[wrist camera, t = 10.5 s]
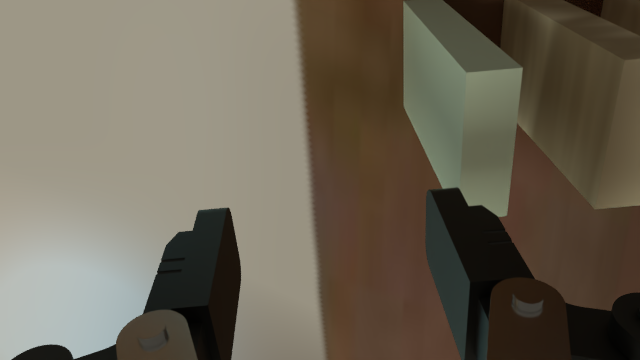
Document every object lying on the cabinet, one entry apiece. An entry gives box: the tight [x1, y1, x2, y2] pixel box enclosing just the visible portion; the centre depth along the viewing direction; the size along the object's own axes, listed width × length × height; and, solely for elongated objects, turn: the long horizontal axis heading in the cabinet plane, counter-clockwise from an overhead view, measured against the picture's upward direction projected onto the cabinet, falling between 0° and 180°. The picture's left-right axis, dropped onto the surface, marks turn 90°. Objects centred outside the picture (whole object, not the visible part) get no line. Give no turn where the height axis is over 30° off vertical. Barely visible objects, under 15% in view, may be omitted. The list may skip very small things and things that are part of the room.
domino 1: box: [404, 0, 523, 217], centre depth 21 cm, size 2×5×10 cm, turn 5°
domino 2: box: [500, 0, 640, 209], centre depth 21 cm, size 2×5×10 cm, turn 5°
